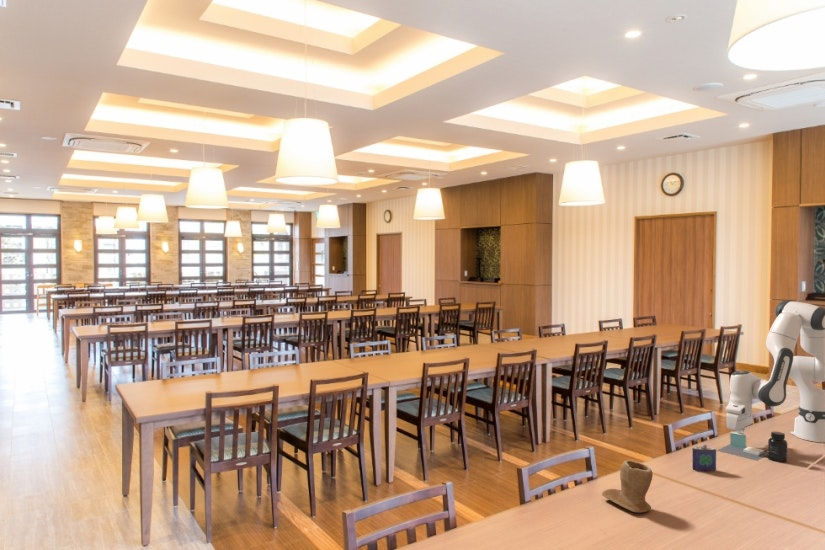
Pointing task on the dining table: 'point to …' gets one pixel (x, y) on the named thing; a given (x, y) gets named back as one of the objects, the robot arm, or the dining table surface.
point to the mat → (740, 452)
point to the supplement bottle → (777, 447)
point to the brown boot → (632, 487)
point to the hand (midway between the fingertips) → (740, 436)
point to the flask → (704, 458)
